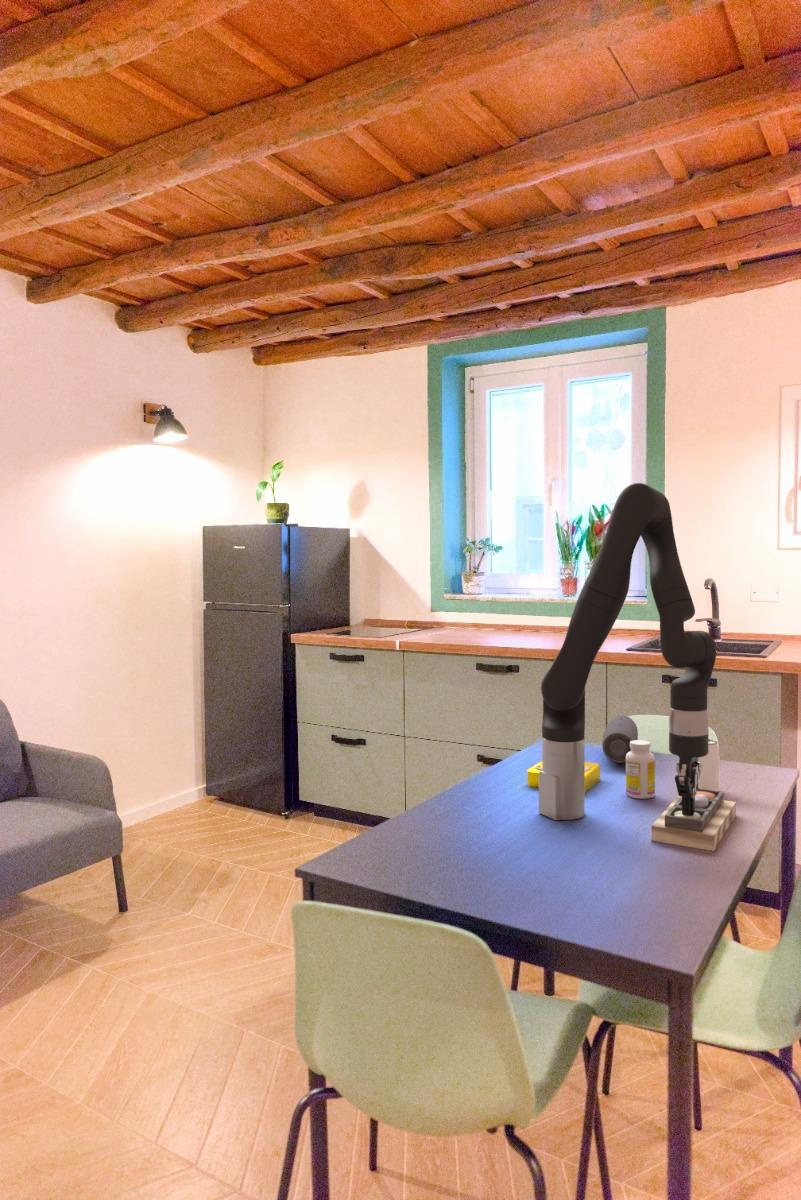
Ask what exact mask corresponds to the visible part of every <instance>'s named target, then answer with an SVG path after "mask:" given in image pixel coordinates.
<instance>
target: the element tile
mask: <svg viewBox="0 0 801 1200" xmlns="http://www.w3.org/2000/svg"><path fill="white" fill-rule="evenodd" d="M526 771H527V773H526V775H527V776H526V777H527V780H526V783H527V784H526V785H527V786H529V787H531V788H536V787H537V789H539V771H542V760H541V761H539V762H537V763H536V764H534V765H532V766H531V767H529V768H528V769H527V770H526ZM598 781H599V782H600V781H601V765H600V764H599V763H596V762H590V761H585V793H587V792H588V791H589V790H591V789H592V788H593V787H594V786H595V785H596V783H597V782H598ZM599 782H598V783H599ZM598 783H597V784H598ZM593 785H594V786H593ZM592 786H593V787H592ZM591 787H592V788H591ZM588 789H589V790H588ZM587 790H588V791H587ZM586 791H587V792H586Z"/></svg>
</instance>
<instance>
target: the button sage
mask: <svg viewBox="0 0 801 1200" xmlns="http://www.w3.org/2000/svg"><path fill="white" fill-rule="evenodd" d="M674 816H677V817H684V818H690V819H697V820H700V817H701V816H700V814H698V813H696V812H695V813H694V814H693V816H688V815H683V814H682V811H677V812H675V813H674Z"/></svg>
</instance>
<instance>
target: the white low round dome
mask: <svg viewBox="0 0 801 1200" xmlns="http://www.w3.org/2000/svg"><path fill="white" fill-rule="evenodd" d="M695 807H696V808H703V809H708V798H706V797H704V796H700V795H696V796H695Z"/></svg>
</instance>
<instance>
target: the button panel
mask: <svg viewBox="0 0 801 1200" xmlns="http://www.w3.org/2000/svg"><path fill="white" fill-rule="evenodd" d="M697 791H703V792H709V793H713V794H714V795H715V799H710V798H708V809H703V808H696V807H695V812H696V813H698V814H700V816H701V817H700V820H697V819H690V818H684V817H677V816H674V813H675V812H677V811H682V797H681V796H679V794H678V795H677V796H676V798H674V799H673V801H672V802H671V803H670V804H669V805H668V807H667V808H665V809H664V811H663V812H662V813H661V814H660V815H659V817H657V819H656V820H655V821H654V822H653V824H651V827H650V828H651V830H650V831H651V833H650V834H651V836H650V837H651V838H650V839H651V841H653V842H658V843H665V844H666V843H667V844H671V845H677V846H683V847H688V848H695V849H700V850H705V849H706V851H710V850H712V852H714V851H715V850H716V848H717V847H718V845H719V843H720V842H721V841H722V839H723V837H724V835H725V834H726V832H727V831H728V830H729V828H730V826H731V824H732V822H733V821H734V819H735V818H736V816H737V802H736V801H732V800H725V799H724V798H725V797H724V795H725V794H724V793H725V792H724V791H722V790H719V791H716V790H708V789H701V788H698V790H697Z"/></svg>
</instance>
